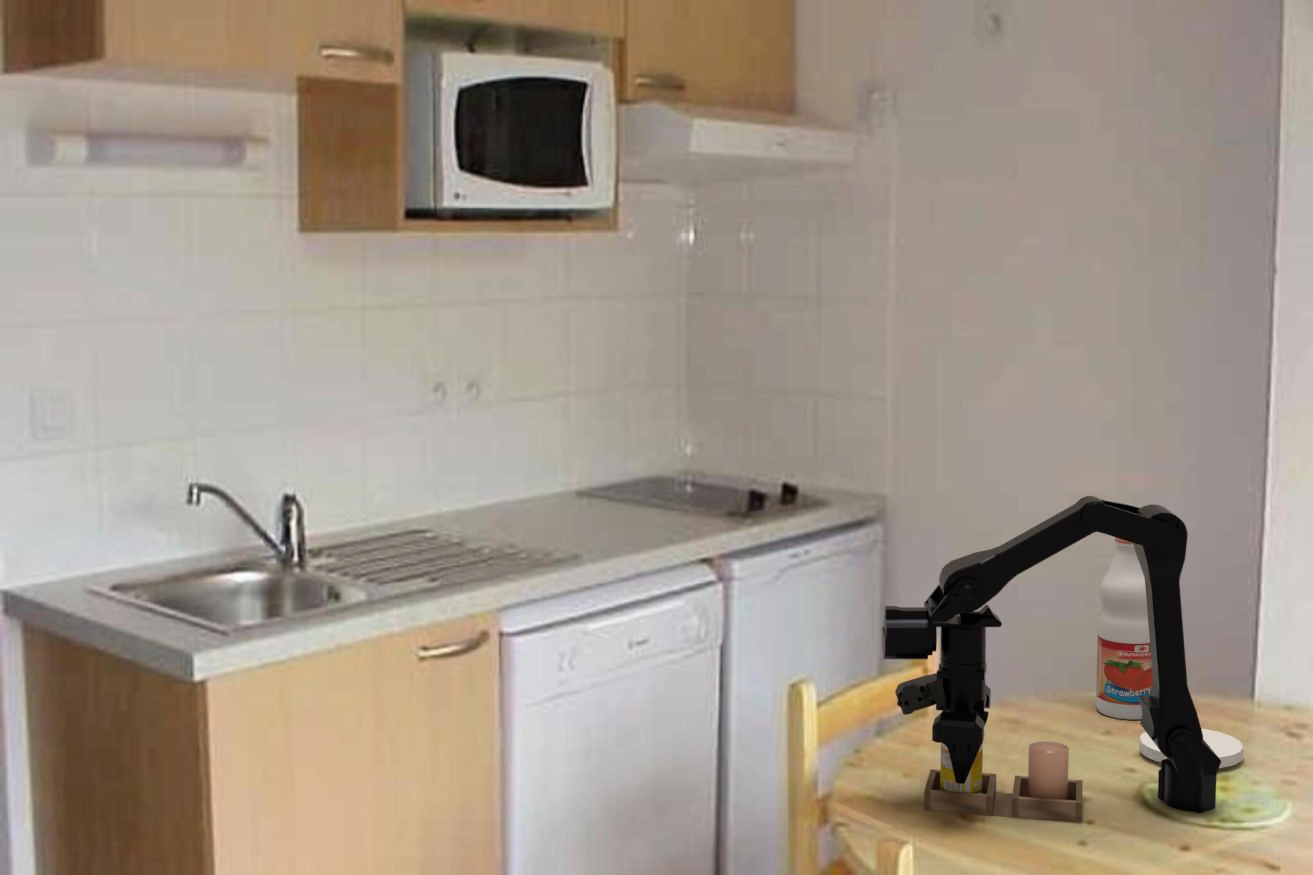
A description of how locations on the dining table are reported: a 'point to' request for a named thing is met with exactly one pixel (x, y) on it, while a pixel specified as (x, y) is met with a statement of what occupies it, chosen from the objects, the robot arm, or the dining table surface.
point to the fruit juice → (1123, 638)
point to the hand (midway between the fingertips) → (962, 775)
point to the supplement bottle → (948, 778)
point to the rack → (1004, 800)
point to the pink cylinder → (1048, 770)
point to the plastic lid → (1218, 742)
